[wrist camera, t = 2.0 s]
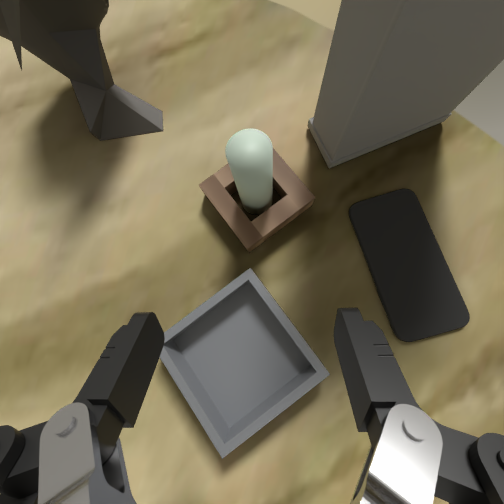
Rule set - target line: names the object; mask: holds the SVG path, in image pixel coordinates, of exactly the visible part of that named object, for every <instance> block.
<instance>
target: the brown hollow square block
mask: <svg viewBox="0 0 504 504" xmlns="http://www.w3.org/2000/svg"><path fill="white" fill-rule="evenodd" d="M199 187H200V188H201V189H202V191H203V192H204V194H205V195H206V196H207V198H208V199H209V200H210V202H211V203H212V204H213V206H214V207H215V208H216V210H217V211H218V212H219V214H220V215H221V216H222V218H223V219H224V220H225V222H226V223H227V224H228V225H229V227H230V228H231V229H232V231H233V232H234V233H235V235H236V236H237V237H238V239H239V240H240V241H241V243H242V244H243V245H244V247H245V248H246V249H247V251H248V252H249V253H250V252H251V251H252V250H254V249H255V248H256V247H258V246H259V245H260V244H262V243H263V242H264V241H266V240H267V239H268V238H270V237H271V236H272V235H274V234H275V233H276V232H278V231H279V230H280V229H282V228H283V227H284V226H286V225H287V224H288V223H290V222H291V221H292V220H294V219H295V218H296V217H298V216H299V215H300V214H302V213H303V212H304V211H306V210H307V209H308V208H310V207H311V206H312V204H313V202H314V200H315V198H316V197H315V196H314V195H313V194H312V193H311V192H310V190H309V189H308V188H307V187H306V186H305V185H304V183H303V182H302V181H301V180H300V179H299V178H298V176H297V175H296V174H295V173H294V172H293V171H292V169H291V168H290V167H289V166H288V165H287V164H286V163H285V161H284V160H283V159H282V158H281V157H280V156H279V154H278V153H277V152H276V151H275V150H274V149H273V188H274V189H275V190H276V191H277V193H278V194H279V195H280V196H281V197H282V199H281V200H280V201H278V202H277V203H276V204H274V205H273V206H271V207H270V208H269V209H267V210H266V211H265V212H263V213H262V214H261V215H259V216H258V217H257V218H255V219H254V220H253V221H250V220H249V219H248V217H247V216H246V215H245V214H244V212H243V211H242V210H241V208H240V207H239V206H238V205H237V203H236V202H235V201H234V199H233V198H232V197H231V196H230V195H232V194H233V193H234V192H236V191H237V187H236V184H235V181H234V178H233V175H232V172H231V170H230V167H229V164H227V165H225V166H224V167H222V168H221V169H220V170H218V171H217V172H216V173H214V174H213V175H212V176H210V177H209V178H207V179H206V180H205V181H203V182H202V183H201V184H199Z"/></svg>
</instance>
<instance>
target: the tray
mask: <svg viewBox="0 0 504 504" xmlns="http://www.w3.org/2000/svg"><path fill="white" fill-rule="evenodd" d="M164 336H165V341H164V346H163V349H162V352H161V355H160V358H161V360H162V362H163V363H164V365H165V367H166V368H167V370H168V371H169V373H170V375H171V376H172V378H173V380H174V381H175V383H176V384H177V386H178V388H179V389H180V391H181V393H182V394H183V396H184V397H185V399H186V401H187V402H188V404H189V405H190V407H191V409H192V410H193V412H194V414H195V415H196V417H197V418H198V420H199V422H200V423H201V425H202V427H203V428H204V430H205V431H206V433H207V435H208V436H209V438H210V440H211V441H212V443H213V444H214V446H215V448H216V449H217V451H218V453H219V454H220V456H221V457H222V459H223V458H224V457H225V456H226V455H228V454H229V453H230V452H232V451H233V450H234V449H235V448H237V447H238V446H239V445H241V444H242V443H243V442H244V441H246V440H247V439H248V438H250V437H251V436H252V435H253V434H255V433H256V432H257V431H258V430H260V429H261V428H262V427H264V426H265V425H266V424H267V423H269V422H270V421H271V420H273V419H274V418H275V417H276V416H278V415H279V414H280V413H281V412H283V411H284V410H285V409H287V408H288V407H289V406H290V405H292V404H293V403H294V402H296V401H297V400H298V399H299V398H301V397H302V396H303V395H304V394H306V393H307V392H308V391H310V390H311V389H312V388H313V387H315V386H316V385H317V384H319V383H320V382H321V381H322V380H324V379H325V378H326V377H328V376H329V375H330V374H329V372H328V371H327V369H326V368H325V366H324V365H323V364H322V362H321V361H320V360H319V358H318V357H317V356H316V354H315V353H314V352H313V350H312V349H311V348H310V346H309V345H308V344H307V342H306V341H305V340H304V338H303V337H302V336H301V334H300V333H299V332H298V330H297V329H296V327H295V326H294V325H293V323H292V322H291V321H290V319H289V318H288V317H287V315H286V314H285V313H284V311H283V310H282V309H281V307H280V306H279V305H278V303H277V302H276V301H275V299H274V298H273V297H272V295H271V294H270V293H269V291H268V290H267V289H266V287H265V286H264V285H263V283H262V282H261V281H260V279H259V278H258V277H257V275H256V274H255V273H254V271H253V270H252V269H251V268H249V269H248V270H247V271H245V272H244V273H243V274H241V275H240V276H239V277H237V278H236V279H235V280H233V281H232V282H231V283H229V284H228V285H227V286H225V287H224V288H223V289H221V290H220V291H219V292H217V293H216V294H215V295H213V296H212V297H211V298H209V299H208V300H207V301H206V302H204V303H203V304H202V305H200V306H199V307H198V308H196V309H195V310H194V311H192V312H191V313H190V314H188V315H187V316H186V317H184V318H183V319H182V320H180V321H179V322H178V323H176V324H175V325H174V326H172V327H171V328H170V329H168V330H167V331H166V332H164Z"/></svg>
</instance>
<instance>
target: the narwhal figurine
mask: <svg viewBox="0 0 504 504" xmlns="http://www.w3.org/2000/svg"><path fill="white" fill-rule="evenodd" d="M108 7H109V2H108V0H0V36H2V37H4V38H6V39H8V40H10V41H12V43H13V46H14V49H15V52H16V55H17V58H18V61H19V64H20V67H21V70H22V60H21V46H22V47H23V48H25V49H26V50H28V51H29V52H31V53H32V54H34V55H35V56H37V57H38V58H40V59H41V60H43V61H44V62H46V63H47V64H48V65H50V66H51V67H53V68H54V69H56V70H57V71H59V72H60V73H62V74H63V75H65V76H66V77H68V78H69V79H70V81H71V83H72V86H73V88H74V91H75V94H76V96H77V99H78V102H79V104H80V107H81V109H82V112H83V115H84V117H85V120H86V122H87V125H88V128H89V130H90V133H92V134H93V135H94V136H95V137H97V138H98V139H99V140H100V141H101V140H107V139H114V138H120V137H127V136H133V135H140V134H146V133H152V132H159V131H163V118H162V111H161V110H159V109H157V108H155V107H153V106H152V105H150V104H148V103H146V102H145V101H143V100H141V99H139V98H138V97H136V96H134V95H132V94H131V93H129V92H127V91H125V90H123V89H122V88H120V87H118V86H116V85H115V84H114V82H113V79H112V76H111V72H110V69H109V66H108V63H107V59H106V56H105V53H104V50H103V47H102V43H101V40H100V29H99V27H100V24H101V22H102V20H103V18H104V17H105V15H106V14H107V11H108Z"/></svg>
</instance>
